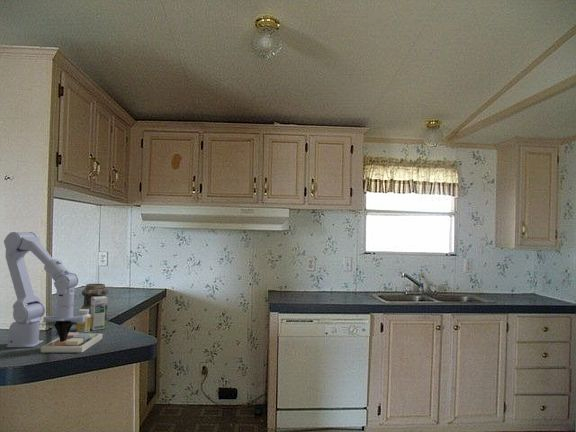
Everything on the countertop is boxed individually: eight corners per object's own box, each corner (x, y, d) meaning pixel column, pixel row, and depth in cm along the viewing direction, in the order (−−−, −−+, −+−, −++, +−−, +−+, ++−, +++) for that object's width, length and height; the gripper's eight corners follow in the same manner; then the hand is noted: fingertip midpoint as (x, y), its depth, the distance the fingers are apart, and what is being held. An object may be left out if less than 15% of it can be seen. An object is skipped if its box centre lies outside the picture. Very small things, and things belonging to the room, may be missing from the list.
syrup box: (92, 330, 171) (94, 298, 171) (89, 327, 175) (91, 296, 176) (106, 328, 174) (108, 297, 175) (102, 326, 179) (104, 295, 179)
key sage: (79, 341, 152) (79, 336, 152) (84, 338, 157) (84, 333, 157) (90, 341, 153) (90, 336, 153) (95, 338, 157) (95, 333, 157)
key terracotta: (53, 347, 144) (54, 342, 144) (59, 343, 148) (60, 339, 148) (65, 347, 144) (66, 342, 144) (71, 343, 148) (71, 339, 148)
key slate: (72, 341, 147) (72, 337, 147) (77, 338, 151) (78, 334, 151) (84, 342, 147) (84, 337, 147) (89, 338, 152) (89, 334, 152)
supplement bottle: (86, 329, 172) (87, 307, 173) (91, 331, 169) (93, 309, 169) (73, 331, 168) (75, 309, 168) (79, 334, 165) (80, 311, 165)
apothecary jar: (107, 317, 197) (109, 282, 198) (105, 322, 186) (107, 285, 187) (81, 318, 193) (83, 282, 194) (77, 323, 182) (80, 286, 183)
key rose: (61, 339, 149) (61, 335, 149) (67, 336, 154) (67, 332, 154) (73, 339, 150) (73, 335, 150) (78, 336, 154) (78, 332, 154)
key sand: (65, 346, 141) (65, 341, 141) (71, 342, 146) (71, 338, 146) (77, 346, 142) (78, 341, 142) (83, 342, 146) (83, 338, 146)
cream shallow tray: (40, 352, 139) (40, 346, 139) (66, 338, 158) (66, 333, 158) (81, 352, 140) (82, 347, 140) (102, 338, 159) (102, 333, 159)
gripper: (39, 307, 142) (37, 343, 141) (79, 307, 143) (77, 344, 143) (49, 303, 149) (47, 338, 148) (88, 304, 150) (86, 338, 150)
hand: (63, 340), depth 146 cm, fingers closed, pressing on key terracotta
